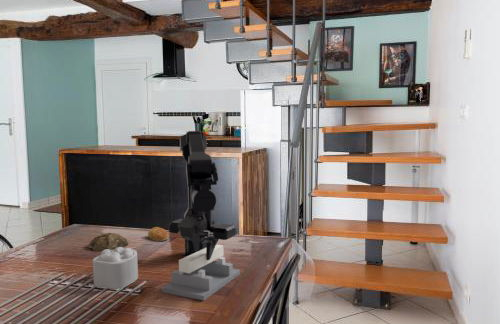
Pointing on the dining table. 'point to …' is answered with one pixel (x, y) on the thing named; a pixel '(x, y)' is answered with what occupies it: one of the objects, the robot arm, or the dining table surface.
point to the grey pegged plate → (201, 280)
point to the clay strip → (199, 259)
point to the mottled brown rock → (108, 242)
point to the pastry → (158, 234)
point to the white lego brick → (115, 268)
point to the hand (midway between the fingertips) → (202, 258)
